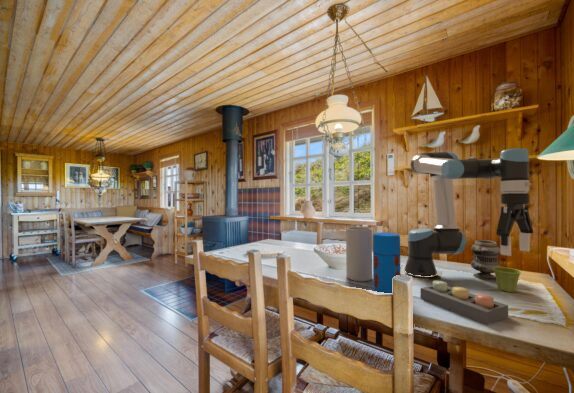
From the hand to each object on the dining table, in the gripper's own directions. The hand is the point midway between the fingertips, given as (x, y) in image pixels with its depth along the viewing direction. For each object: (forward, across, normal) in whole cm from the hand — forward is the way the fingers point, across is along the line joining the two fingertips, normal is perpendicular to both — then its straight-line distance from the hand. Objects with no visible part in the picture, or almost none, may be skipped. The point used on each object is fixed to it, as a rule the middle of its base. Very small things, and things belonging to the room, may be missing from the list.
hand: (515, 253), depth 91 cm
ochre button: (+18, -13, +12) cm, 25 cm away
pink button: (+18, -13, +4) cm, 23 cm away
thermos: (+21, -26, +34) cm, 48 cm away
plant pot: (+21, +22, +12) cm, 33 cm away
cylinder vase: (+21, -22, +55) cm, 63 cm away
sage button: (+18, -12, +20) cm, 29 cm away
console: (+21, -13, +12) cm, 27 cm away
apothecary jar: (+21, +34, +26) cm, 47 cm away
